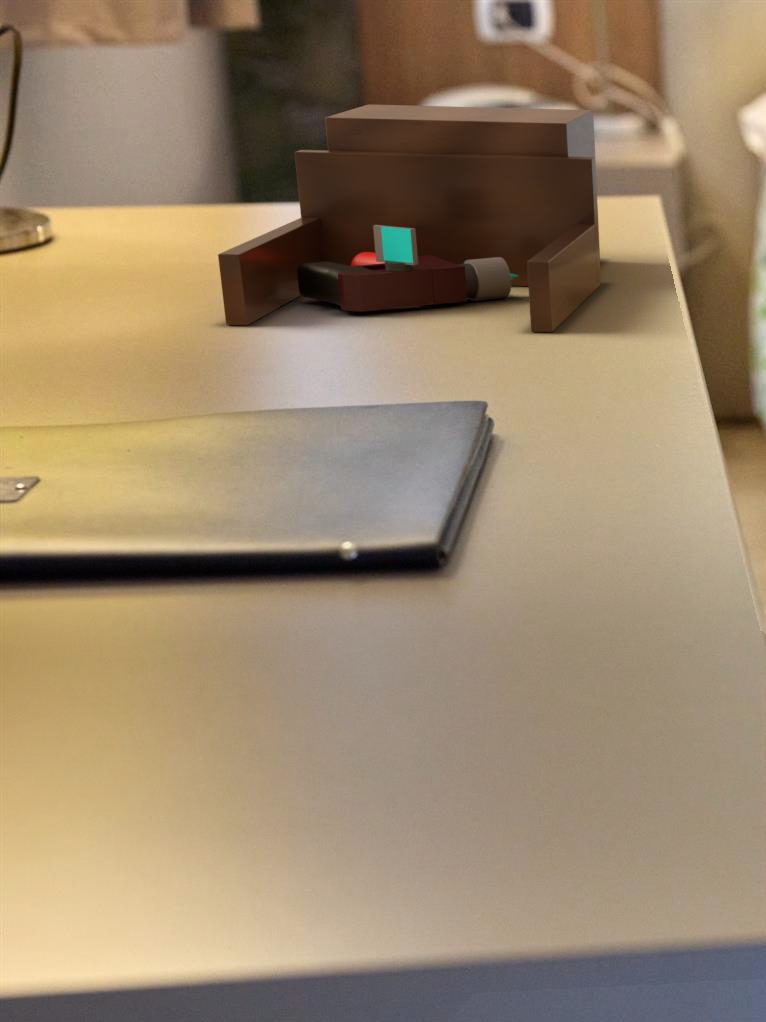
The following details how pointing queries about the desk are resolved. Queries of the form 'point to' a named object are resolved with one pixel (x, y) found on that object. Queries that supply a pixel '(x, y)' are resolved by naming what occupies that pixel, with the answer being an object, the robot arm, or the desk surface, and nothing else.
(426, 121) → the brown u-shaped frame
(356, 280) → the toy gun
